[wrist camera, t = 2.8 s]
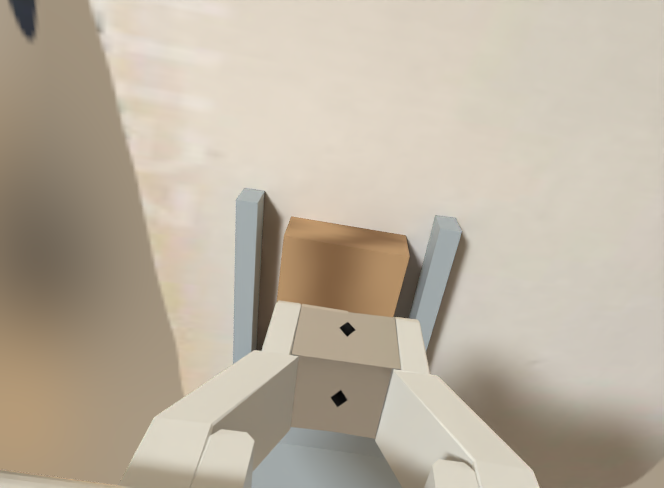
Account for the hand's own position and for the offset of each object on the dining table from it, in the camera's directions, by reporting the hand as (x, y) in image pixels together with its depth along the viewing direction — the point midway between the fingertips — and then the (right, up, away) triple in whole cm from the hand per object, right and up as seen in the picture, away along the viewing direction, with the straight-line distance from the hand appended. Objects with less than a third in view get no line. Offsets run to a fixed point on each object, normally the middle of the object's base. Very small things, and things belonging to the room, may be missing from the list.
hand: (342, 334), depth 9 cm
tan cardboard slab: (0, -1, +19) cm, 19 cm away
